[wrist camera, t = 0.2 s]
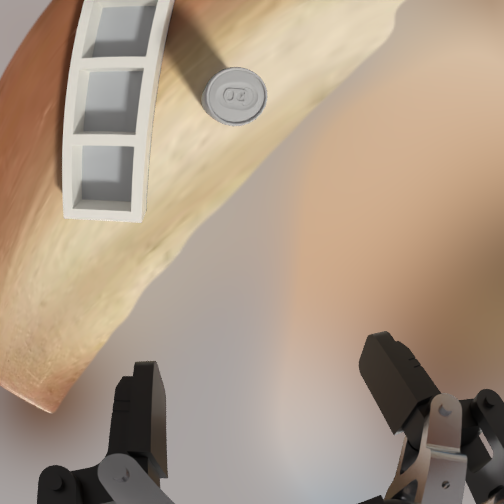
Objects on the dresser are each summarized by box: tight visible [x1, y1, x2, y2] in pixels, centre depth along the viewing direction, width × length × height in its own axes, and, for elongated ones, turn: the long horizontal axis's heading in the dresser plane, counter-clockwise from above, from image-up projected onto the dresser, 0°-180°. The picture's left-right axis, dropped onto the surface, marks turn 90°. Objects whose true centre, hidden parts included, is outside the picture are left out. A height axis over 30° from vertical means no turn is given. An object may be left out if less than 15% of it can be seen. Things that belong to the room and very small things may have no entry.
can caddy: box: [62, 0, 175, 223], centre depth 27 cm, size 26×9×4 cm, turn 171°
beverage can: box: [201, 67, 267, 126], centre depth 26 cm, size 5×5×12 cm
